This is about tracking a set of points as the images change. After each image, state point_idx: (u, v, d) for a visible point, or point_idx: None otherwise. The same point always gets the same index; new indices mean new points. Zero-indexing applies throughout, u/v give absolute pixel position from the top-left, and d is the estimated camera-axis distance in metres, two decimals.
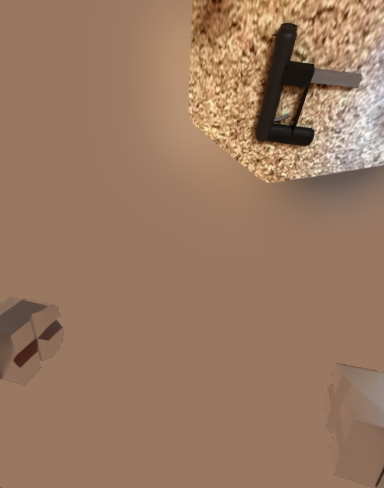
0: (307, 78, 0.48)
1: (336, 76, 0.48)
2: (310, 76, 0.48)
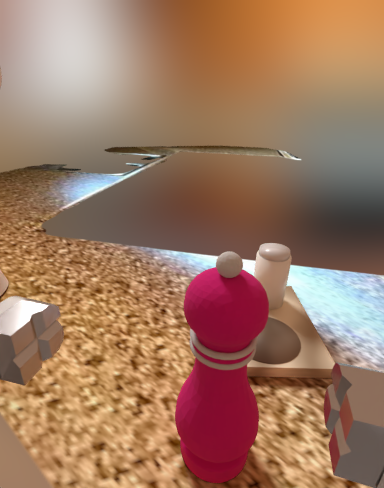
0: None
1: None
2: None
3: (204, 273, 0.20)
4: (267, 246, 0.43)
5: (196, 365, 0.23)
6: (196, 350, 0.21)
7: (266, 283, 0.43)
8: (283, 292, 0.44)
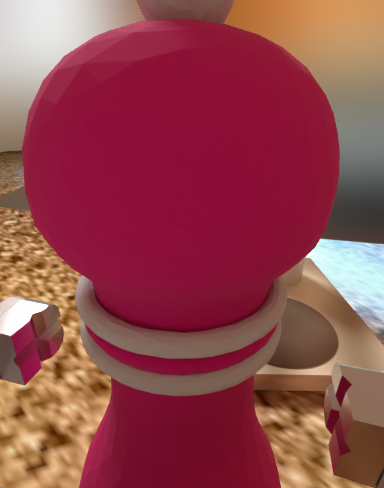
0: None
1: None
2: None
3: None
4: None
5: None
6: (87, 327, 0.06)
7: None
8: (302, 260, 0.29)
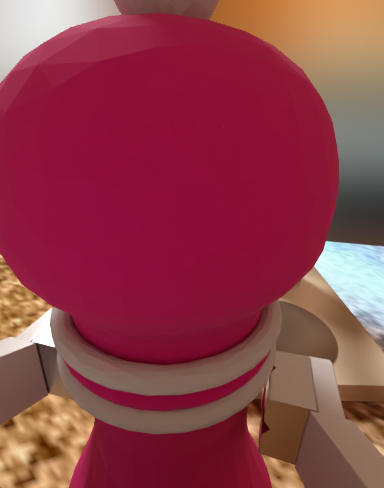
0: None
1: None
2: None
3: None
4: None
5: None
6: None
7: None
8: None
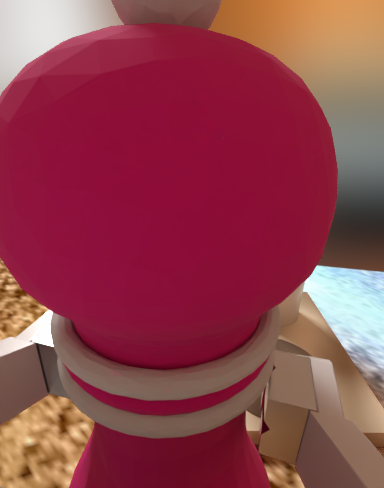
0: None
1: None
2: None
3: None
4: None
5: None
6: None
7: None
8: (298, 301, 0.30)
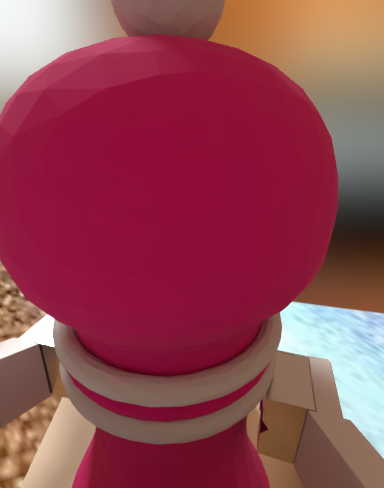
0: None
1: None
2: None
3: None
4: None
5: None
6: None
7: None
8: None
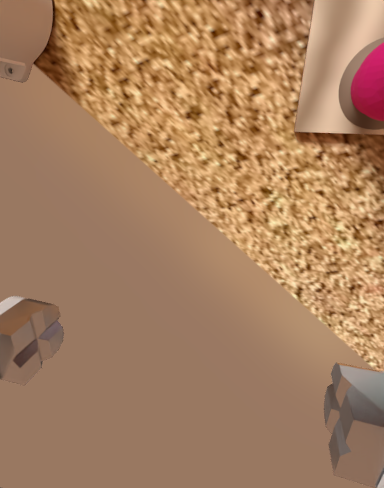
0: None
1: None
2: None
3: None
4: None
5: None
6: None
7: None
8: None
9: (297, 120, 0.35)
